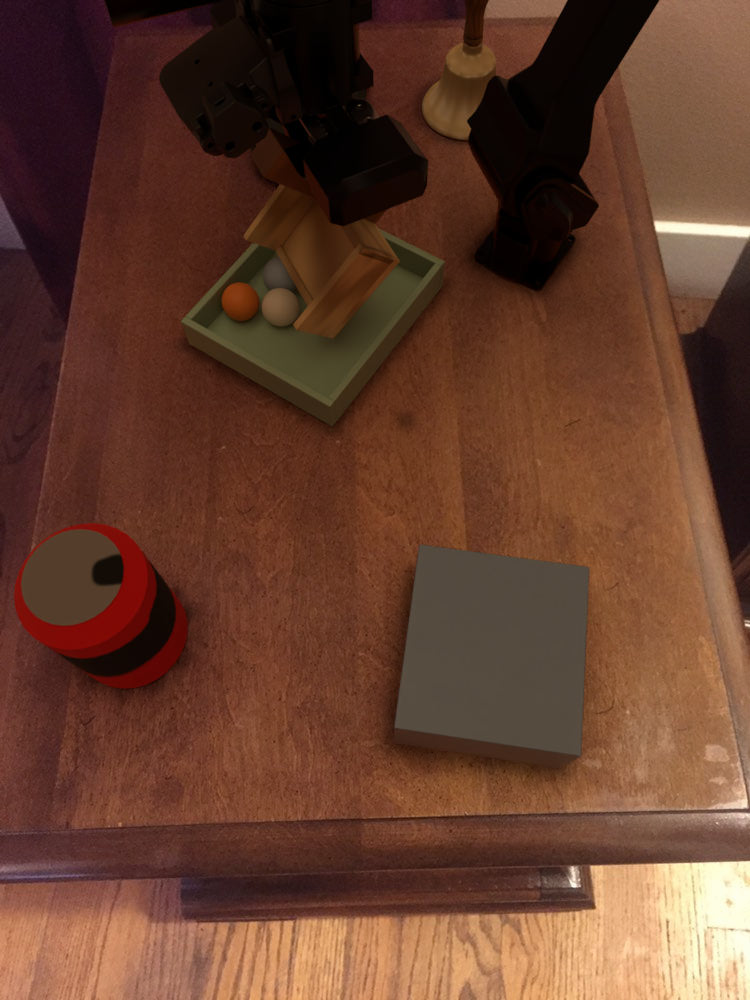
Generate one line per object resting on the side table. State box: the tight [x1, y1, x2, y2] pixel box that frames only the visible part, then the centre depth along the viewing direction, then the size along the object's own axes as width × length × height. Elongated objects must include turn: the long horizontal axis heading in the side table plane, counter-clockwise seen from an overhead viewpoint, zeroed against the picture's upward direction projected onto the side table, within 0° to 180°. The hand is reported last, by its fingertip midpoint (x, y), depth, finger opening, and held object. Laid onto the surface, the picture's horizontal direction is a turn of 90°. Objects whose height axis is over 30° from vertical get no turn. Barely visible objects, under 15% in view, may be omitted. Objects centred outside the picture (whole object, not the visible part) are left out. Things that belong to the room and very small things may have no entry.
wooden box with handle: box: [242, 128, 400, 338], centre depth 57 cm, size 10×10×11 cm
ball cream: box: [262, 288, 300, 327], centre depth 65 cm, size 3×3×3 cm
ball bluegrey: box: [263, 257, 297, 292], centre depth 66 cm, size 3×3×3 cm
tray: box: [180, 227, 446, 427], centre depth 66 cm, size 16×14×3 cm
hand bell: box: [421, 0, 497, 142], centre depth 70 cm, size 8×8×16 cm
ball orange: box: [221, 282, 259, 321], centre depth 65 cm, size 3×3×3 cm
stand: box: [393, 544, 590, 770], centre depth 52 cm, size 12×11×6 cm
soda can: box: [13, 522, 189, 690], centre depth 51 cm, size 8×8×12 cm
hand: (323, 198), depth 57 cm, fingers closed on wooden box with handle, 2 cm apart
